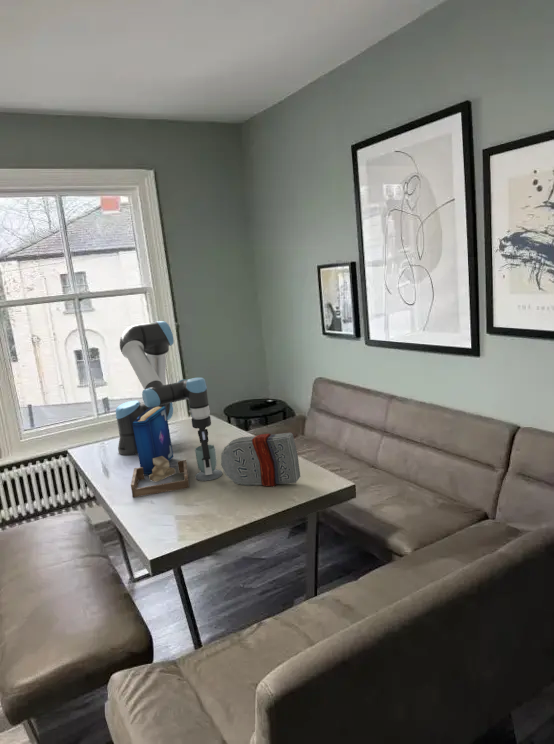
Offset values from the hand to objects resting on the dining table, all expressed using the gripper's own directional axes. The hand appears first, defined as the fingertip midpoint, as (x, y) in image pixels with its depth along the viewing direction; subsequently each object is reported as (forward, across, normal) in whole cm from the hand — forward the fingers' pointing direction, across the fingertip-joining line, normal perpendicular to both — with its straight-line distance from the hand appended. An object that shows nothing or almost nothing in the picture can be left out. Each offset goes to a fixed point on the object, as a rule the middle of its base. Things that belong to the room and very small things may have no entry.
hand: (208, 470), depth 226 cm
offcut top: (-3, -7, -18) cm, 20 cm away
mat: (+2, 0, 0) cm, 2 cm away
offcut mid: (0, -8, -19) cm, 20 cm away
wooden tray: (+2, 0, -19) cm, 19 cm away
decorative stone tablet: (+2, +18, +19) cm, 26 cm away
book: (+2, -20, -21) cm, 29 cm away
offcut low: (+3, -8, -19) cm, 20 cm away
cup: (0, 0, 0) cm, 0 cm away
